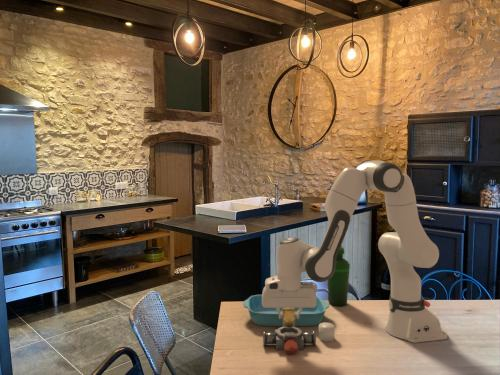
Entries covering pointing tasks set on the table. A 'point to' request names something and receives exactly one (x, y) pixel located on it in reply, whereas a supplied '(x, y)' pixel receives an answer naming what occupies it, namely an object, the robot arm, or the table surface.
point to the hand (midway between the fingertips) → (288, 318)
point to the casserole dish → (272, 317)
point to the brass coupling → (288, 317)
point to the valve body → (289, 339)
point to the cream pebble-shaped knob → (326, 332)
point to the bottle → (339, 281)
